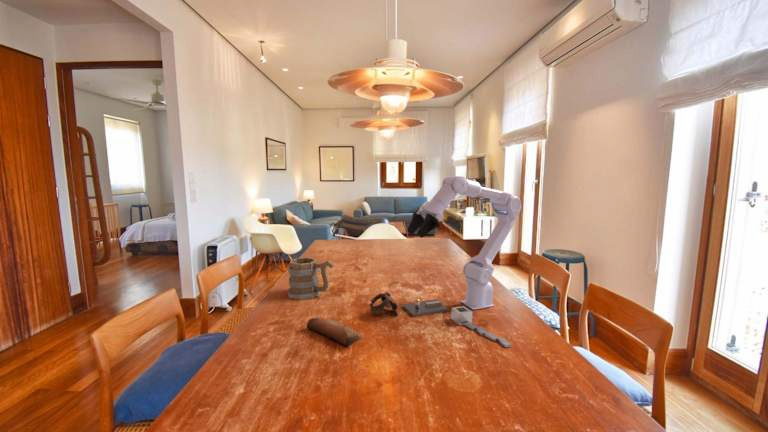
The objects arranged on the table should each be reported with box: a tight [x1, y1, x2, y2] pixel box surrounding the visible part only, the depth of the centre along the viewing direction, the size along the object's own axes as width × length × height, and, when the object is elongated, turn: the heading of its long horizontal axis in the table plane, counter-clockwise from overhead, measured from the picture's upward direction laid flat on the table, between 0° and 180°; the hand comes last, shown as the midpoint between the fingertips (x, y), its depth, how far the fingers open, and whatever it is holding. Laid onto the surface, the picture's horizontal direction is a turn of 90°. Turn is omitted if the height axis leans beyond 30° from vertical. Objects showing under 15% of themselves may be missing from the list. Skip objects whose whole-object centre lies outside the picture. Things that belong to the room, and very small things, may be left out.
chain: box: [464, 322, 512, 348], centre depth 101 cm, size 3×17×1 cm, turn 34°
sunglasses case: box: [306, 317, 364, 348], centre depth 102 cm, size 18×7×7 cm
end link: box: [450, 305, 473, 326], centre depth 111 cm, size 5×5×4 cm
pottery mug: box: [369, 291, 400, 317], centre depth 117 cm, size 12×10×8 cm
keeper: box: [401, 298, 449, 317], centre depth 120 cm, size 14×9×4 cm, turn 111°
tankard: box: [286, 257, 335, 301], centre depth 133 cm, size 20×13×15 cm, turn 68°
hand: (414, 234), depth 110 cm, fingers open, 7 cm apart
